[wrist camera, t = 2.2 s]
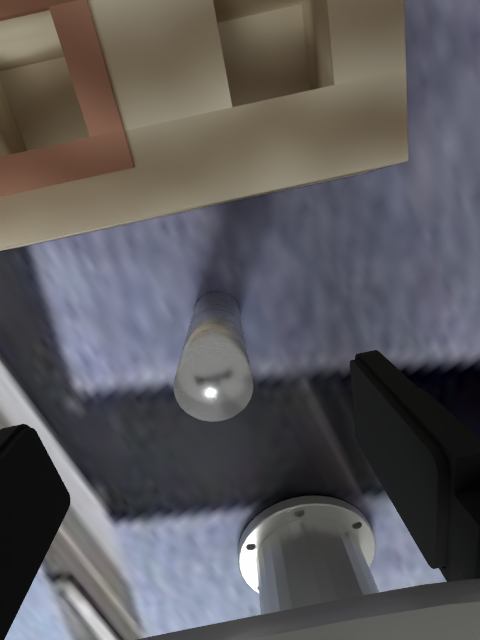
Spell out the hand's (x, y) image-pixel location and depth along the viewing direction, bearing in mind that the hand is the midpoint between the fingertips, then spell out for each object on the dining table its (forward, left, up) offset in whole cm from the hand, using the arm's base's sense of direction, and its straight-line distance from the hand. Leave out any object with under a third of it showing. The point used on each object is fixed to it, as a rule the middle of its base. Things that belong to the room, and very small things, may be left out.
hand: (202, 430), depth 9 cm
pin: (-1, 0, -14) cm, 14 cm away
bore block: (+12, 0, -14) cm, 18 cm away
